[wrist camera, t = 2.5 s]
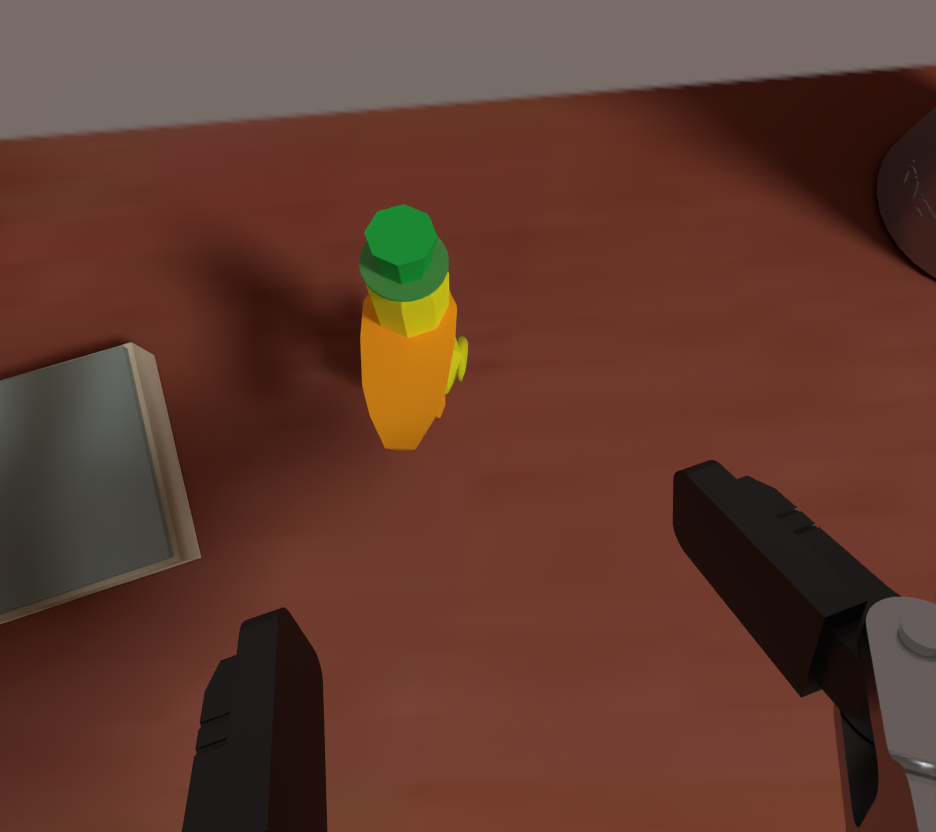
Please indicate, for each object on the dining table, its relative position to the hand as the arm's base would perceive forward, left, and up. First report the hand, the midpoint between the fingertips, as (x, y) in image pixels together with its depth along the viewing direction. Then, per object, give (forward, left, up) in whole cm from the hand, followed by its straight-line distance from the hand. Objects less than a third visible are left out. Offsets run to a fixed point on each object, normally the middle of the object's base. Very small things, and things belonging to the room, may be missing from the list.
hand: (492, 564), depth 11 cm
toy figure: (0, -6, -12) cm, 14 cm away
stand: (+15, -7, -12) cm, 20 cm away
